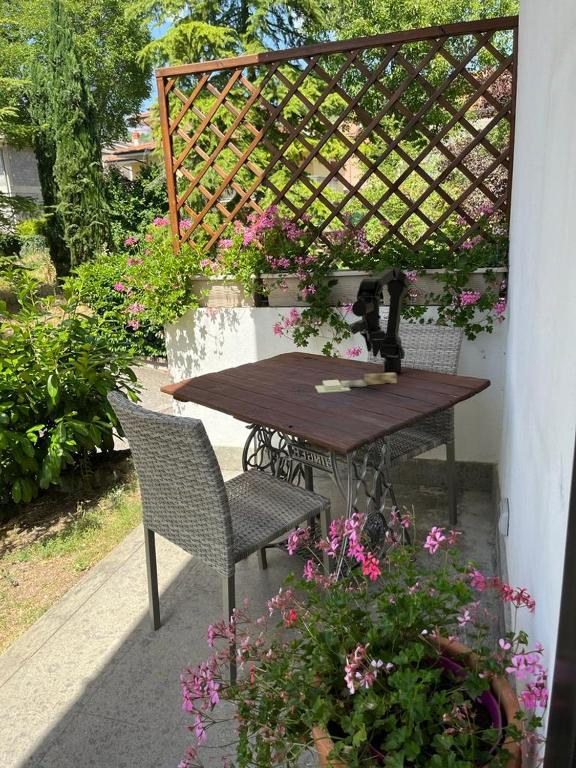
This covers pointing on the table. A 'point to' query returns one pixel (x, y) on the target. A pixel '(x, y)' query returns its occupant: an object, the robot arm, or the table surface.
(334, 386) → the tile
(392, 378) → the turner
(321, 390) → the mat
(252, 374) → the table surface
